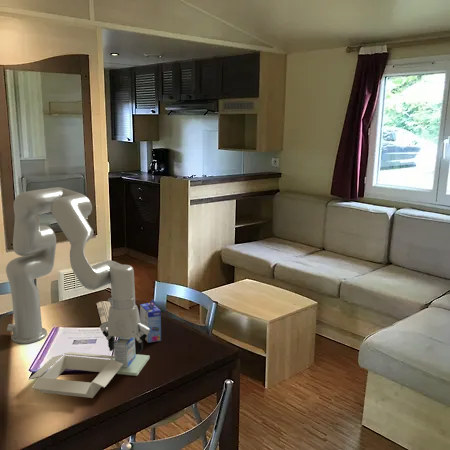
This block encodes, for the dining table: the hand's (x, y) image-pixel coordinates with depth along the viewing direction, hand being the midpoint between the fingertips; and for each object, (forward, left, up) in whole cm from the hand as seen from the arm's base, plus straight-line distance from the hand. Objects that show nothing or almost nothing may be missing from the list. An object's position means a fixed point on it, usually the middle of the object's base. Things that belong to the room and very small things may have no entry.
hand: (125, 350), depth 159 cm
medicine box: (0, 0, -4) cm, 5 cm away
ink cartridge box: (+1, +22, -6) cm, 23 cm away
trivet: (0, 0, -5) cm, 5 cm away
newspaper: (-26, +41, -6) cm, 49 cm away
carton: (-11, -13, -5) cm, 18 cm away
